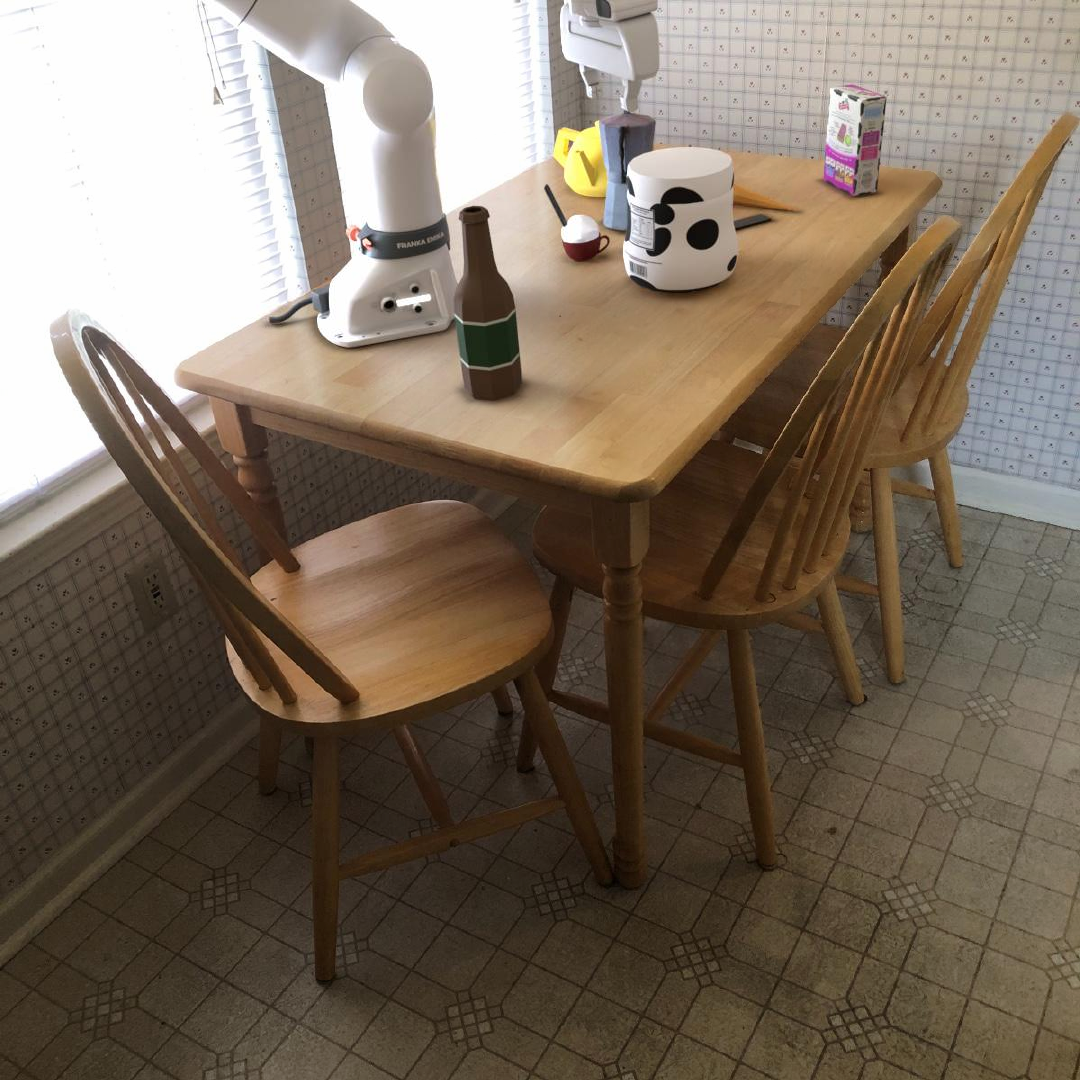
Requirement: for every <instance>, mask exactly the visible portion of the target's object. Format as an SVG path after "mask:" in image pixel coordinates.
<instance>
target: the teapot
mask: <svg viewBox="0 0 1080 1080" xmlns="http://www.w3.org/2000/svg"><path fill="white" fill-rule="evenodd" d="M600 120H601V119H599V120H596V121H595V122H594V124H595V126H591V127H588V128H585V129H583V130H581V131H579V130H575V129H571V128H568V127H565V126H564V127H561V128H559V130H558V131H557V136H556V141H555V144H554V150H553V154H552V157H553V158H554V159H555V160H556V161H557V162H558V163H559V164H560V165H561V166H562V167H563V168H564V180H565V182H566V184H567V185H568V187H569V188H570V189H571V190H572V191H574V193H576V194H578V195H581V196H585V197H591V198H606V192H607V183H608V178H607V169H606V167H605V165H604V159H603V152H602V145H601V139H600V131H599V125H598V122H599V121H600ZM570 141H572V142H573V144H572V145H571V148H570V150H568V148H569V143H570ZM655 150H656V149H655V144H653V151H655Z"/></svg>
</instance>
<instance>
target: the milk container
mask: <svg viewBox="0 0 1080 1080" xmlns="http://www.w3.org/2000/svg"><path fill="white" fill-rule="evenodd" d="M731 157H732V156H731V155H730V154H727V153H726V152H724V151H722V150H717V149H713V148H709V147H696V146H683V147H681V146H680V147H668V148H662V149H655V151H651V152H648V153H644V154H641V155H639V156H637V157H635V158H633V159H632V160H631V162H630V163H629V164H628V171H627V186H628V191H627V203H628V227H627V230H626V232H625V236H624V239H623V240H624V241H623V246H622V254H623V255H622V256H623V263H624V268H625V271H626V274H627V276H628V277H629V279H630V280H631V281H632V282H633V283H635V284H636V285H637V286H638V287H640V288H643V289H647V290H649V291H652V292H656V293H657V292H658V293H664V294H688V293H689V294H691V293H696V292H702V291H703V292H704V291H706V290H708V289H712V288H715V287H717V286H719V285H721V284H722V283H723V282H725V281H726V280H728V279H729V278H730V277H731V276H732V275H733V273H734V271H735V269H736V266H737V261H738V255H739V240H738V235H737V232H736V231H737V230H735V227H734V222H733V221H734V212H733V211H734V210H733V209H734V204H733V195H734V189H733V184H735V183H734V182H735V170H734V169H735V168H734V162H733V159H732V158H731Z"/></svg>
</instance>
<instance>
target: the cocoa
mask: <svg viewBox="0 0 1080 1080" xmlns="http://www.w3.org/2000/svg"><path fill="white" fill-rule="evenodd" d="M543 190H544V192H545V194H546V196H547V198H548V200H549V202H550V203H551V206H552V207H553V209H554V211H555V214H556V215H557V217H558V219H559V221H560V223H561V225H562V227H561V233H560V235H561V242H562V245H563V248H564V251H565V254H566V255H567V256H568V257H569V258H570V259H571V260H573V261H575V262H587V261H591V260H592V259H594V258H595V257H596V256H597V255H599V254H601V253H603V251H605V250H606V249H607V248H608V247H609V245H610V243H611V242H610V241H611V239H610V237H609V236H608V235H606V234H604V235H601V232H600V227H599V224H598V223H597V222H596V221H595V220H594V219H593V218H592V217H591V216H588V215H585V214H576V215H573V216H571V217H570V218H569V219H568V221H567V218H566V217H565V214H564V213H563V211H562V209H561V207H560V205H559V203H558V201H557V199H556V197H555V195H554V193H553V191H552V189H551V187H550V185H549V184H548V183H546V184H545V185H544V186H543ZM602 239H606V241H607V242H606V244H605V245H604V246H603V247H602V248H601V245H602V243H601V242H602Z"/></svg>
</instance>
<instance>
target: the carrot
mask: <svg viewBox="0 0 1080 1080" xmlns="http://www.w3.org/2000/svg"><path fill="white" fill-rule="evenodd" d="M733 189H734V195H733V205H738V206H746V207H752V208H753V207H754V208H761V209H769V210H770V209H771V210H784V211H796V208H793V207H791V206H789V205H786V204H784V203H782V202H780V201H777V200H775V199H773V198H771V197H769V196H766V195H763V194H761V193H759V192H756V191H753V190H750V189H749V188H745V187H743V186H741V185H738V184H736V183H734V184H733Z"/></svg>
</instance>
